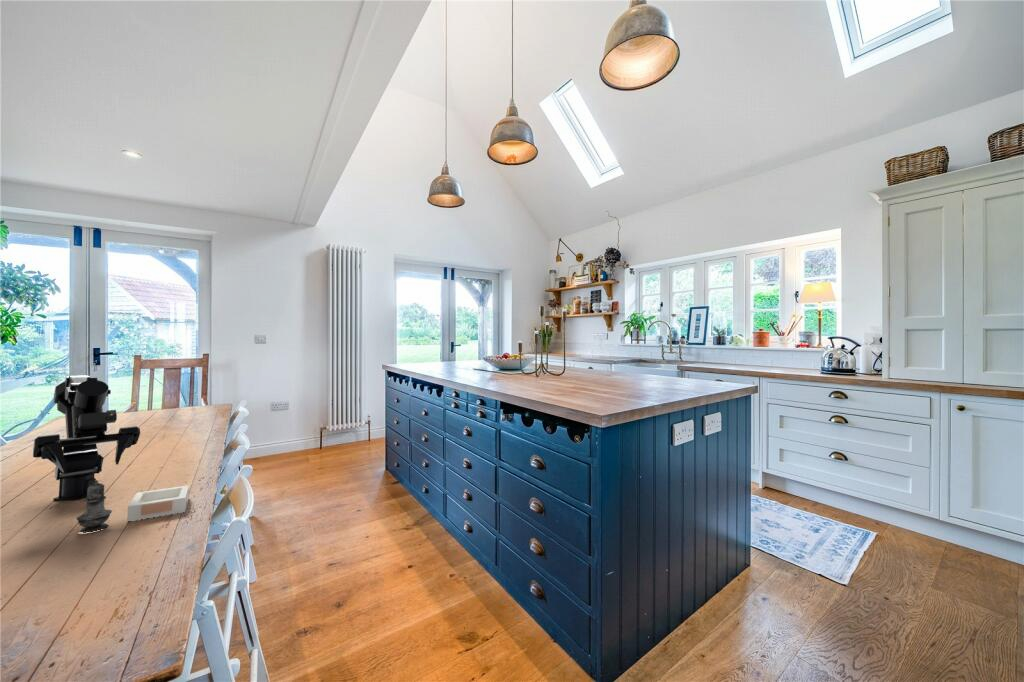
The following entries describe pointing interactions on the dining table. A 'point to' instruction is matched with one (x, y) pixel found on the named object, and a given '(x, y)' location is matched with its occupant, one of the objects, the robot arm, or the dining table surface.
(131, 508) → the tagged holder
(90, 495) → the dark chess piece
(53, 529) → the dining table surface
